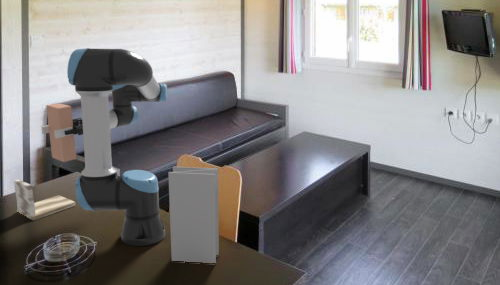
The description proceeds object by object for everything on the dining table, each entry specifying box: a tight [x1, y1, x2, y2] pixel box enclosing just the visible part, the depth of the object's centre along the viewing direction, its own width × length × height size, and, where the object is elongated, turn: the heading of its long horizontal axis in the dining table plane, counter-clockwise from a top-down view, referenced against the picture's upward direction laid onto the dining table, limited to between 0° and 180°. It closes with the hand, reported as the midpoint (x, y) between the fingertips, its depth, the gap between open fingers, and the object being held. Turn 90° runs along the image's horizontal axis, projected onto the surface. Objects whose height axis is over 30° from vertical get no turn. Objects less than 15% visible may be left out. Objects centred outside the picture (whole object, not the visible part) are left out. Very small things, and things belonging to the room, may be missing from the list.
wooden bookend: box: [13, 178, 77, 221], centre depth 186 cm, size 12×18×14 cm, turn 144°
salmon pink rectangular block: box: [45, 103, 77, 163], centre depth 174 cm, size 8×5×20 cm, turn 52°
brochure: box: [168, 166, 220, 264], centre depth 148 cm, size 14×6×30 cm, turn 84°
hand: (48, 132), depth 170 cm, fingers closed on salmon pink rectangular block, 8 cm apart
